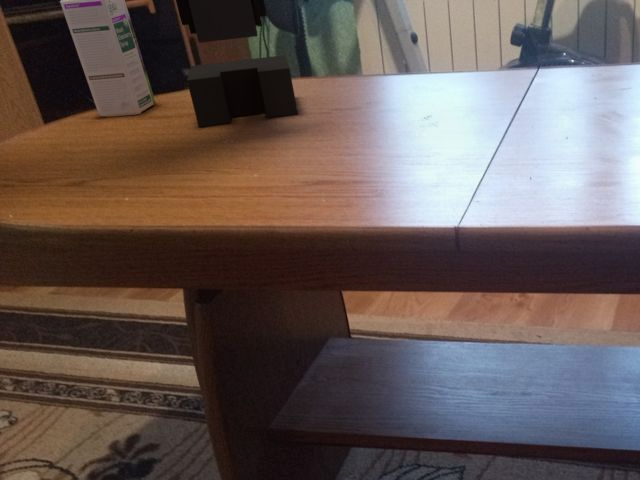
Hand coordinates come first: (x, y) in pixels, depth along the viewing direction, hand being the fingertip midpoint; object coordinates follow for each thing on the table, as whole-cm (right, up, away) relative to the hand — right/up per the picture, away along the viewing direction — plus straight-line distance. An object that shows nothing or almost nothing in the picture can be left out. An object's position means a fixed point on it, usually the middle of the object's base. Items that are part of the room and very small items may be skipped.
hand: (226, 26), depth 78 cm
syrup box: (-20, -2, +22) cm, 30 cm away
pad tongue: (-1, +1, +3) cm, 3 cm away
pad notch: (-2, -4, +16) cm, 17 cm away
